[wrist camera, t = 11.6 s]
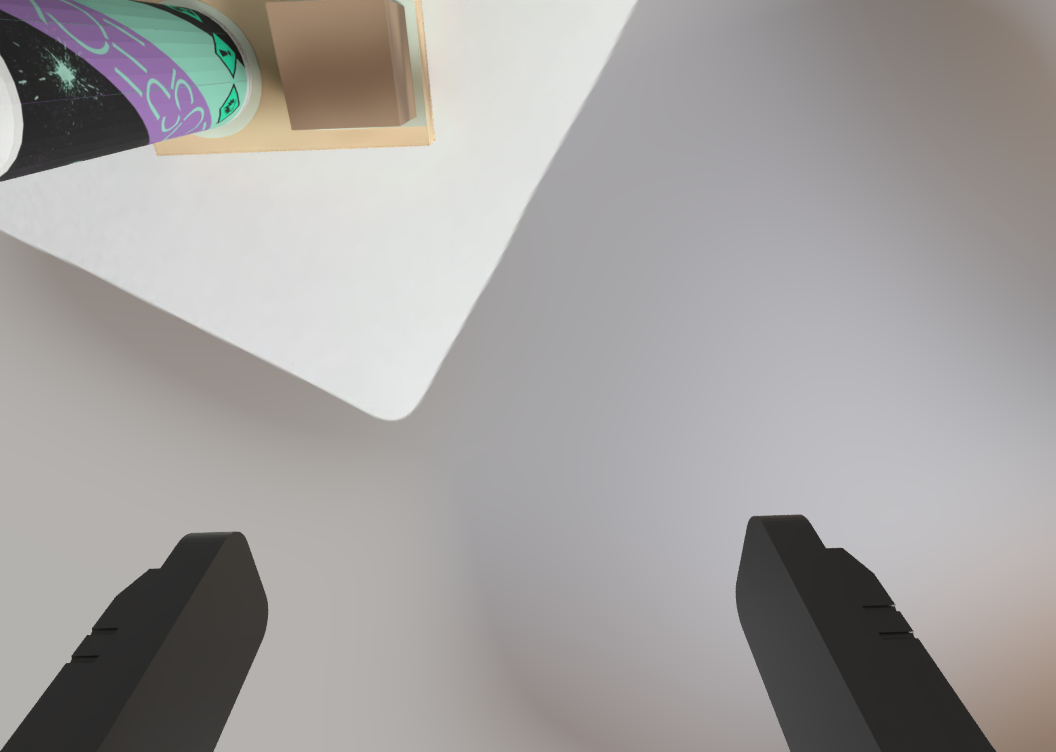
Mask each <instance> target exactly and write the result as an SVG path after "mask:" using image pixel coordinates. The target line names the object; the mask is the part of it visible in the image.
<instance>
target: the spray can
mask: <svg viewBox="0 0 1056 752" xmlns="http://www.w3.org/2000/svg"><path fill="white" fill-rule="evenodd" d="M251 91H252V76H251V69H250V65H249V62H248V59H247V56H246V54H245V52H244V50H243V48H242V46H241V44H240V43H239V42H238V40H237V39H236V37H235V36H234V35H233V34H232V33H231V32H230V30H229V29H228V28H227V27H226V26H225V25H223V24H222V23H221V22H219V21H218V20H217V19H215V18H214V17H212V16H210V15H208V14H206V13H204V12H201V11H197V10H194V9H190V8H186V7H179V6H172V5H164V4H157V3H150V2H143V1H136V0H0V182H1V181H5V180H9V179H13V178H17V177H21V176H25V175H29V174H33V173H37V172H41V171H45V170H49V169H53V168H57V167H61V166H65V165H69V164H73V163H77V162H81V161H85V160H89V159H93V158H97V157H101V156H105V155H109V154H113V153H117V152H121V151H125V150H129V149H133V148H137V147H141V146H145V145H149V144H153V143H157V142H161V141H165V140H169V139H173V138H177V137H181V136H185V135H189V134H193V133H197V132H201V131H205V130H209V129H213V128H217V127H220V126H223V125H225V124H228V123H230V122H232V121H233V120H235V119H236V118H238V117H239V116H240V114H241V113H242V112H243V111H244V110H245V108H246V106H247V104H248V102H249V99H250V95H251Z"/></svg>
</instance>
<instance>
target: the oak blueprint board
mask: <svg viewBox="0 0 1056 752" xmlns="http://www.w3.org/2000/svg"><path fill="white" fill-rule="evenodd" d="M136 1H143V2H150V3H157V4H164V5H172V6H179V7H186V8H190V9H194V10H197V11H201V12H204V13H206V14H208V15H210V16H212V17H214V18H215V19H217V20H218V21H219V22H221V23H222V24H223V25H225V26H226V27H227V28H228V29H229V30H230V32H231V33H232V34H233V35H234V36H235V37H236V39H237V40H238V42H239V43H240V44H241V46H242V48H243V50H244V52H245V54H246V56H247V59H248V62H249V65H250V69H251V76H252V91H251V95H250V99H249V102H248V104H247V106H246V108H245V110H244V111H243V112H242V113H241V114H240V116H239V117H238V118H236V119H235V120H233V121H232V122H230V123H228V124H225V125H223V126H220V127H217V128H213V129H209V130H205V131H201V132H197V133H193V134H189V135H185V136H181V137H177V138H173V139H169V140H165V141H161V142H157V143H153V144H154V147H155V151H156V154H157V156H165V155H192V154H219V153H245V152H272V151H299V150H325V149H352V148H379V147H406V146H430V145H431V144H432V143H433V142H434V141H435V133H434V123H433V113H432V103H431V94H430V84H429V74H428V64H427V54H426V44H425V34H424V25H423V15H422V5H421V0H390V1H393V2H395V3H397V4H400V5H402V6H404V9H405V18H406V27H407V36H408V44H409V53H410V62H411V71H412V80H413V88H414V97H415V106H416V115H417V117H415V118H413V119H411V120H410V121H408V122H406V123H405V124H403V125H401V126H394V127H368V128H341V129H315V130H292V129H291V124H290V119H289V115H288V110H287V105H286V100H285V95H284V91H283V86H282V81H281V76H280V71H279V67H278V62H277V57H276V52H275V47H274V43H273V38H272V33H271V28H270V23H269V19H268V14H267V9H266V4H265V2H288V1H314V0H136Z"/></svg>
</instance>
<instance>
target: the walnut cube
mask: <svg viewBox="0 0 1056 752" xmlns="http://www.w3.org/2000/svg"><path fill="white" fill-rule="evenodd" d="M265 4H266V9H267V14H268V19H269V23H270V28H271V33H272V38H273V43H274V47H275V52H276V57H277V62H278V67H279V71H280V76H281V81H282V86H283V91H284V95H285V100H286V105H287V110H288V115H289V119H290V124H291V129H292V130H315V129H341V128H368V127H394V126H401V125H403V124H405V123H406V122H408V121H410V120H411V119H413V118H415V117H417V115H416V106H415V97H414V88H413V80H412V71H411V62H410V53H409V44H408V36H407V27H406V18H405V9H404V6H402V5H400V4H397V3H395V2H393V1H390V0H314V1H288V2H265Z"/></svg>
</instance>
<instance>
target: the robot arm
mask: <svg viewBox="0 0 1056 752" xmlns="http://www.w3.org/2000/svg"><path fill="white" fill-rule="evenodd" d="M736 603H737V610H738V614H739V618H740V623H741V625H742V628H743V631H744V633H745V636H746V639H747V641H748V644H749V646H750V649H751V651H752V654H753V657H754V659H755V662H756V664H757V667H758V669H759V672H760V674H761V677H762V680H763V682H764V685H765V687H766V690H767V692H768V695H769V698H770V700H771V703H772V705H773V708H774V710H775V713H776V716H777V718H778V721H779V723H780V726H781V728H782V731H783V734H784V736H785V739H786V741H787V744H788V746H789V749H790V752H996V751H995V749H994V748H993V747H992V745H991V744H990V743H989V741H988V740H987V738H986V737H985V735H984V734H983V732H982V731H981V729H980V728H979V726H978V725H977V724H976V722H975V721H974V719H973V718H972V716H971V715H970V713H969V712H968V710H967V709H966V708H965V706H964V705H963V703H962V702H961V700H960V699H959V697H958V696H957V694H956V693H955V692H954V690H953V688H952V687H951V686H950V684H949V683H948V681H947V680H946V678H945V677H944V675H943V674H942V672H941V671H940V669H939V668H938V667H937V665H936V664H935V662H934V661H933V659H932V658H931V656H930V655H929V654H928V652H927V651H926V649H925V648H924V646H923V645H922V643H921V642H920V640H919V639H918V638H917V639H915V637H914V635H913V630H912V629H911V627H910V626H909V624H908V623H907V621H906V620H905V618H904V617H903V615H902V614H901V612H900V611H896V609H895V604H894V602H893V601H892V600H891V598H890V596H889V595H888V593H887V592H886V591H885V589H884V588H883V586H882V585H881V583H880V582H879V580H878V579H877V577H876V576H875V575H874V573H873V572H871V571H870V570H869V569H868V568H866V567H865V566H864V565H863V564H861V563H860V562H859V561H857V559H855V558H854V557H853V556H852V555H850V554H849V553H848V552H847V551H845V550H844V549H843V548H825V546H824V544H823V543H822V541H821V540H820V538H819V536H818V535H817V533H816V531H815V530H814V528H813V527H812V525H811V523H810V522H809V521H808V520H807V518H805V517H804V516H803V515H773V516H753V517H751V518H750V520H749V522H748V525H747V529H746V535H745V540H744V545H743V551H742V556H741V561H740V566H739V571H738V577H737V582H736ZM267 620H268V602H267V598H266V594H265V591H264V588H263V585H262V582H261V580H260V577H259V574H258V571H257V568H256V565H255V562H254V559H253V557H252V554H251V551H250V548H249V545H248V542H247V540H246V538H245V536H244V535H243V534H242V533H240V532H212V533H211V532H210V533H190V534H187V535H186V536H184V537H183V538H182V539H181V540H180V541H179V543H178V544H177V545H176V547H175V548H174V550H173V551H172V552H171V554H170V555H169V557H168V558H167V560H166V561H165V563H164V564H163V565H162V567H161V568H160V569H149V570H148V571H147V572H146V573H144V574H143V575H142V576H140V577H139V578H138V579H137V580H135V581H134V582H133V583H132V584H131V585H129V586H128V587H127V588H126V589H124V590H123V591H122V592H121V593H120V594H118V595H117V596H116V597H115V598H114V600H113V601H112V603H111V604H110V605H109V606H108V608H107V609H106V610H105V612H104V613H103V615H102V616H101V617H100V618H99V620H98V621H97V623H96V624H95V625H94V627H93V628H92V633H91V635H87V636H86V637H85V639H84V640H83V641H82V643H81V644H80V645H79V647H78V648H77V649H76V651H75V652H74V653H73V655H72V660H71V662H70V663H66V664H65V665H64V667H63V668H62V670H61V671H60V672H59V673H58V675H57V676H56V677H55V679H54V680H53V681H52V683H51V684H50V686H49V687H48V688H47V689H46V691H45V692H44V693H43V695H42V696H41V698H40V699H39V700H38V702H37V703H36V704H35V705H34V707H33V708H32V710H31V711H30V712H29V714H28V715H27V716H26V718H25V719H24V720H23V722H22V723H21V724H20V726H19V727H18V728H17V730H16V731H15V732H14V734H13V735H12V736H11V738H10V739H9V740H8V742H7V743H6V744H5V746H4V747H3V749H2V750H1V751H0V752H213V751H214V749H215V747H216V744H217V742H218V740H219V738H220V735H221V733H222V731H223V728H224V726H225V724H226V722H227V719H228V717H229V715H230V713H231V710H232V708H233V706H234V704H235V701H236V699H237V697H238V694H239V692H240V690H241V688H242V685H243V683H244V681H245V679H246V676H247V674H248V671H249V669H250V667H251V665H252V663H253V660H254V658H255V656H256V654H257V651H258V649H259V647H260V644H261V642H262V640H263V637H264V634H265V631H266V626H267Z"/></svg>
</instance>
